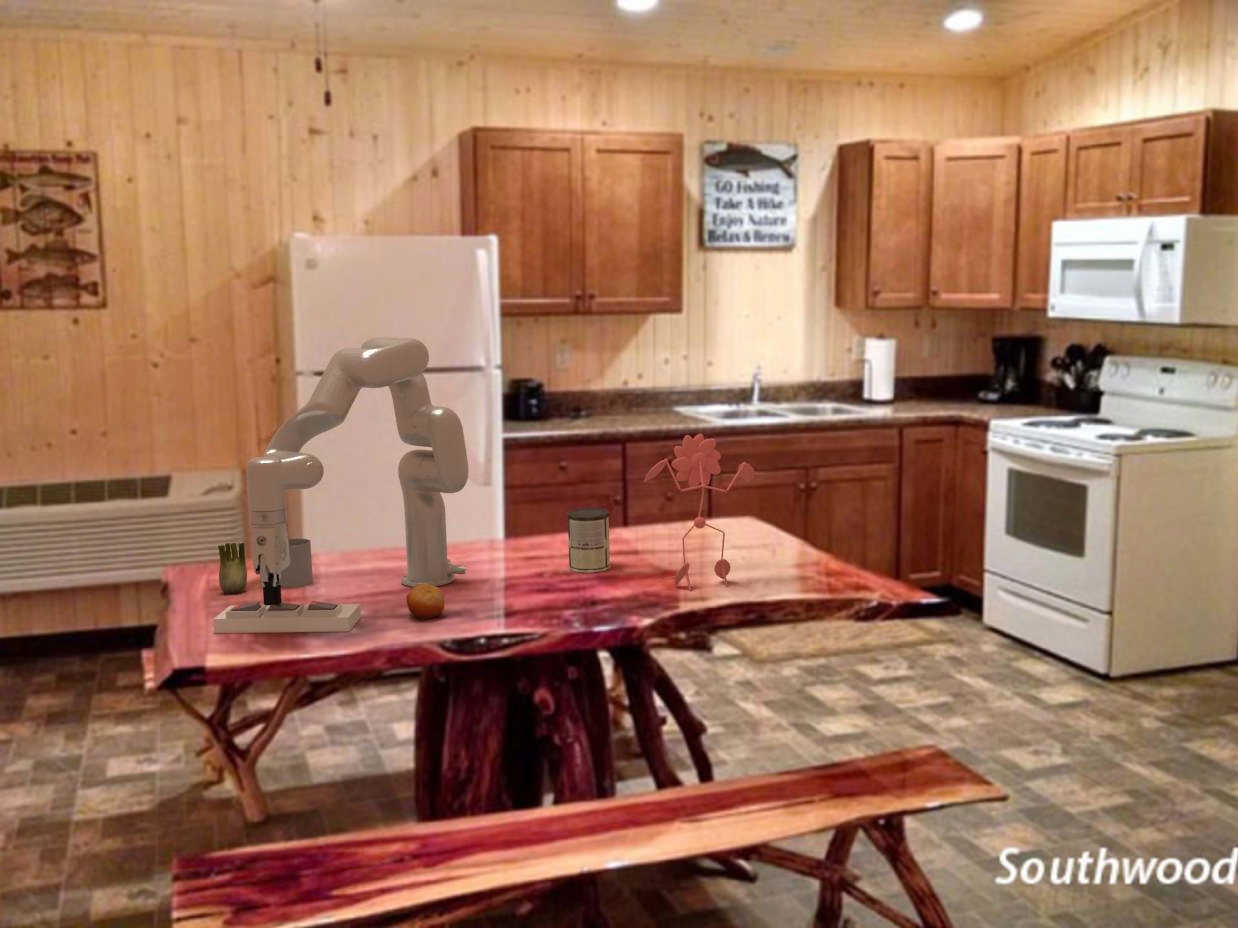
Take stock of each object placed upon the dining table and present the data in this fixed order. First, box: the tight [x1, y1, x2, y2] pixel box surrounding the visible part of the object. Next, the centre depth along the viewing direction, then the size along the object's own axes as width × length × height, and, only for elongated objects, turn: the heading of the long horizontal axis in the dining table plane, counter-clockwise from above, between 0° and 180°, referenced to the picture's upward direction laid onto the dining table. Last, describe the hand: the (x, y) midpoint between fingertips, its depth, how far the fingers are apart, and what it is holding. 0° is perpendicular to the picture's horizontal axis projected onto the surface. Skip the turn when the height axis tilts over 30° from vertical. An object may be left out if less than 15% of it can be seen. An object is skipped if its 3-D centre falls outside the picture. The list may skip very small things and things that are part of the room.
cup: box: [278, 538, 314, 589], centre depth 285 cm, size 8×8×10 cm
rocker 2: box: [308, 600, 338, 610], centre depth 248 cm, size 5×3×1 cm, turn 89°
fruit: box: [405, 583, 445, 621], centre depth 255 cm, size 8×8×8 cm
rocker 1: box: [231, 601, 261, 611], centre depth 248 cm, size 5×3×1 cm, turn 88°
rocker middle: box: [270, 601, 299, 611], centre depth 248 cm, size 5×3×1 cm, turn 89°
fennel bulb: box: [217, 541, 248, 594], centre depth 277 cm, size 6×5×12 cm
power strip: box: [213, 603, 362, 634], centre depth 250 cm, size 28×10×4 cm, turn 89°
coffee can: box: [566, 507, 611, 574], centre depth 293 cm, size 10×10×14 cm
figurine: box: [643, 433, 755, 592], centre depth 277 cm, size 15×26×35 cm, turn 109°
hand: (272, 604), depth 247 cm, fingers closed
